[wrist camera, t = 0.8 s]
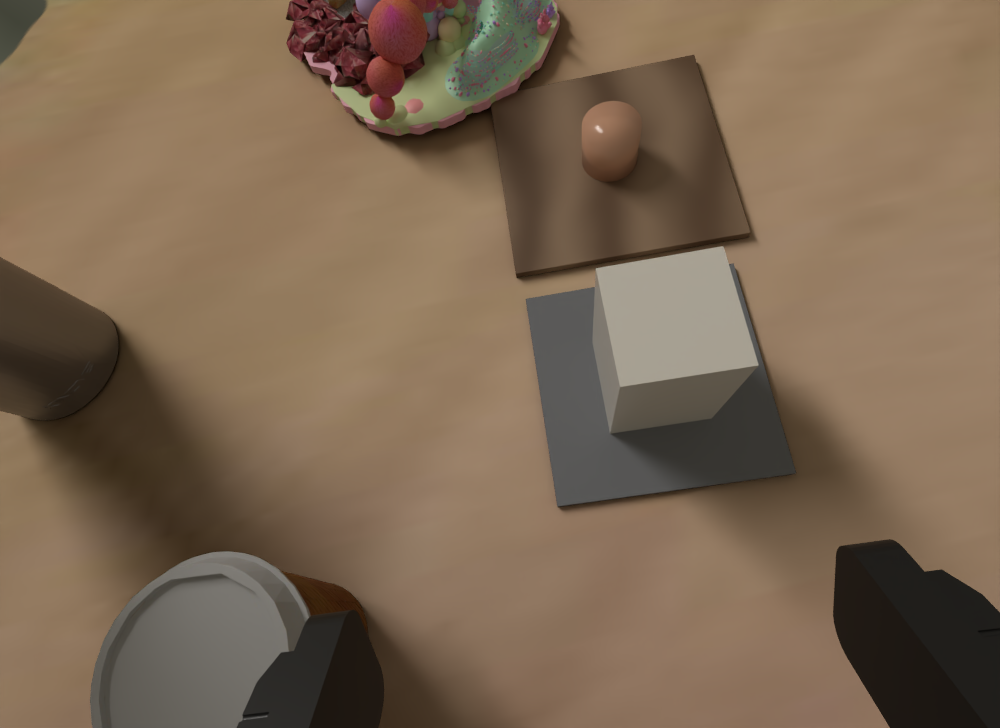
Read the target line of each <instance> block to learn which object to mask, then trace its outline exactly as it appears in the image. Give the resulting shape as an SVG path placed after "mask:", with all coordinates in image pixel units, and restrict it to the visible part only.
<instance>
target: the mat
mask: <svg viewBox="0 0 1000 728" xmlns="http://www.w3.org/2000/svg"><path fill="white" fill-rule="evenodd" d="M729 267H730V270H731V274H732V277H733V280H734V284H735V287H736V290H737V294H738V297H739V301H740V304H741V307H742V311H743V314H744V317H745V321H746V324H747V328H748V331H749V334H750V338H751V341H752V344H753V348H754V351H755V355H756V358H757V361H758V365H759V366H758V367H757V368H756V369H755V370H754V371H753V372H752V374H751V375H750V376H749V377H748V378H747V379H746V380H745V381H744V383H743V384H742V385H741V386H740V387H739V388H738V389H737V390H736V392H735V393H734V394H733V395H732V396H731V397H730V398H729V399H728V401H727V402H726V403H725V404H724V405H723V406H722V407H721V408H720V410H719V411H718V412H717V413H716V414H715V415H714V416H713V417H712V419H705V420H699V421H692V422H685V423H678V424H672V425H665V426H658V427H652V428H645V429H638V430H632V431H625V432H618V433H611V434H610V431H609V426H608V420H607V415H606V410H605V405H604V400H603V394H602V389H601V384H600V379H599V374H598V368H597V363H596V358H595V353H594V348H593V342H592V340H593V318H594V296H595V287H593V288H587V289H581V290H576V291H570V292H564V293H558V294H552V295H546V296H541V297H535V298H529V299H526V304H527V311H528V317H529V324H530V330H531V337H532V343H533V350H534V356H535V363H536V369H537V376H538V382H539V389H540V395H541V402H542V409H543V415H544V422H545V428H546V435H547V441H548V448H549V454H550V461H551V467H552V474H553V480H554V487H555V493H556V500H557V506H558V507H561V506H568V505H575V504H582V503H590V502H597V501H604V500H611V499H618V498H626V497H633V496H640V495H647V494H654V493H661V492H669V491H676V490H683V489H690V488H697V487H705V486H712V485H719V484H726V483H733V482H740V481H748V480H755V479H762V478H769V477H776V476H784V475H791V474H795V473H796V471H795V467H794V464H793V461H792V457H791V454H790V451H789V447H788V444H787V441H786V437H785V434H784V431H783V427H782V424H781V421H780V417H779V414H778V411H777V407H776V404H775V401H774V397H773V394H772V391H771V387H770V384H769V381H768V377H767V374H766V371H765V367H764V364H763V361H762V357H761V354H760V351H759V347H758V344H757V341H756V337H755V334H754V331H753V327H752V324H751V321H750V317H749V314H748V311H747V307H746V304H745V301H744V297H743V294H742V291H741V287H740V284H739V281H738V277H737V274H736V271H735V267H734V264H729Z"/></svg>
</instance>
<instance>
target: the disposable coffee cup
mask: <svg viewBox="0 0 1000 728" xmlns="http://www.w3.org/2000/svg"><path fill="white" fill-rule="evenodd" d="M348 610H355V611H357V612H358V614H359V616H360V618H361V620H362V623H363V625H364V627H365V630H366V632H367V635H368V627H367V621H366V618H365V615H364V612H363V610H362V608H361V606H360V604H359V602H358V601H357V600H356V599H355V598H354V597H353V596H352V594H351V593H350V592H348V591H347V590H345V589H344V588H342V587H340V586H337V585H335V584H331V583H326V582H322V581H318V580H314V579H311V578H307V577H303V576H299V575H295V574H292V573H287V572H283V571H280V570H279V569H278V568H277V567H275V566H273V565H271V564H269V563H268V562H266V561H264V560H262V559H260V558H258V557H256V556H254V555H250V554H246V553H238V552H230V551H224V552H211V553H207V554H204V555H200V556H196V557H193V558H191V559H188V560H186V561H183V562H181V563H180V564H178V565H176V566H175V567H173V568H171V569H170V570H168V571H167V572H165V573H164V574H163V575H161V576H160V577H158V578H156V579H155V580H153V581H152V582H150V583H149V584H148V585H147V586H145V587H144V588H143V589H142V590H141V591H140V592H138V593H137V594H136V595H135V596H134V597H132V599H131V600H130V601H129V602H128V604H127V605H126V606H125V608H124V609H123V610H122V611H121V613H120V614H119V615H118V617H117V618H116V619H115V621H114V623H113V624H112V626H111V628H110V630H109V632H108V634H107V635H106V637H105V639H104V641H103V644H102V647H101V650H100V653H99V655H98V658H97V661H96V664H95V669H94V674H93V679H92V684H91V697H90V705H91V719H92V726H93V728H237V726H238V723H239V722H241V721H242V719H243V716H242V714H243V712H244V710H245V708H246V705H247V703H248V701H249V699H250V696H251V694H252V692H253V690H254V687H255V685H256V683H257V681H258V680H259V679H260V678H261V676H262V675H263V674H264V673H265V671H266V670H267V669H268V668H269V666H270V665H271V664H272V663H273V662H274V660H275V659H276V658H277V657H278V655H279V654H280V653H281V652H289V651H294V649H295V647H296V644H297V642H298V639H299V637H300V634H301V632H302V629H303V627H304V625H305V622H306V621H307V619H308V618H309V617H310V616H312V615H318V614H325V613H333V612H340V611H348Z"/></svg>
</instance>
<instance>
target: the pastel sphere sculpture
mask: <svg viewBox="0 0 1000 728" xmlns="http://www.w3.org/2000/svg"><path fill="white" fill-rule="evenodd" d="M305 18H306V19H305ZM286 19H287V20H291V21H295V22H294V23H293V25H292V28H291V31H290V34H289V37H288V40H287V46H288V48H289V51H290V53H291V54H293V55H294V56H295V57H296V58H297V59H299V60H300V61H301V62H302V61H303V60H304V59H305V58H306V59H307V61H308V62H309V65H310V67H311V69H312V71H313V72H314V73H317V74H322V75H327V76H330V80H331V82H332V85H331V91H332V93H333V95H334V97H335V98H336V99H337V100H339V101H340V102H341V103H342V104H343V106H344V108H345V110H346V112H348V113H351V114H355V115H356V116H357V117H358V118H359V120H360V121H362V122H364V123H366V124H367V126H368V128H369V129H371V130H375V131H379V132H383V133H387V134H391V135H396V136H401V135H403V134H407V133H412V134H418V135H421V134H424V133H426V132H428V131H431V130H433V129H435V128H446V127H448V126H450V125H453V124H455V123H457V122H459V121H462V120H463V119H465V117H466V116H467V115H468V114H470V113H478V112H481V111H482V110H485V109H488V108H489V107H490V106H491V104H492V103H493V102H495V101H497V100H500V99H501V98H503V97H506V96H508V95H510V94H512V93H515V92H516V91H517V90H518V88H519V86H520V84H521V82H522V81H523V80H525V79H528V78H529V77H530V76H531V74H532V73H533V72H534V71H536V70H539V69H540V68H541V66H542V64H543V62H544V60H545V58H546V56H547V53H548V51H549V49H550V46H551V44H552V42H553V40H554V37H555V35H556V33H557V30H558V28H559V25H560V19H559V14H558V6H557V4H556V2H555V1H554V0H292V1H290V3H289V7H288V12H287V17H286ZM302 19H304V20H302Z"/></svg>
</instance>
